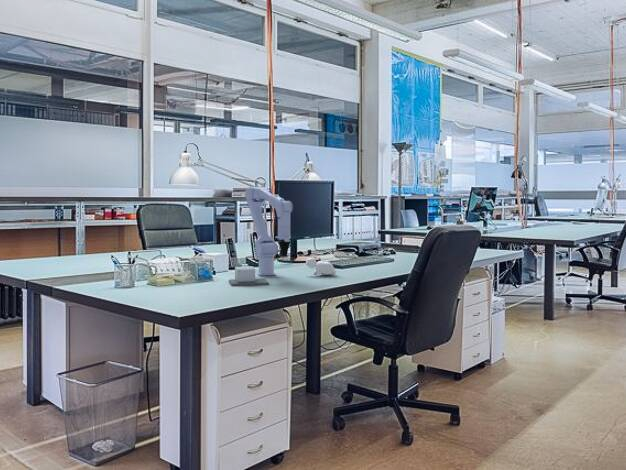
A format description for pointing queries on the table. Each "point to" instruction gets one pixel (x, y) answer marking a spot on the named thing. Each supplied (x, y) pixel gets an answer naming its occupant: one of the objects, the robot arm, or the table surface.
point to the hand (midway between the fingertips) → (284, 256)
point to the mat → (257, 282)
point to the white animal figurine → (321, 267)
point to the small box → (245, 274)
